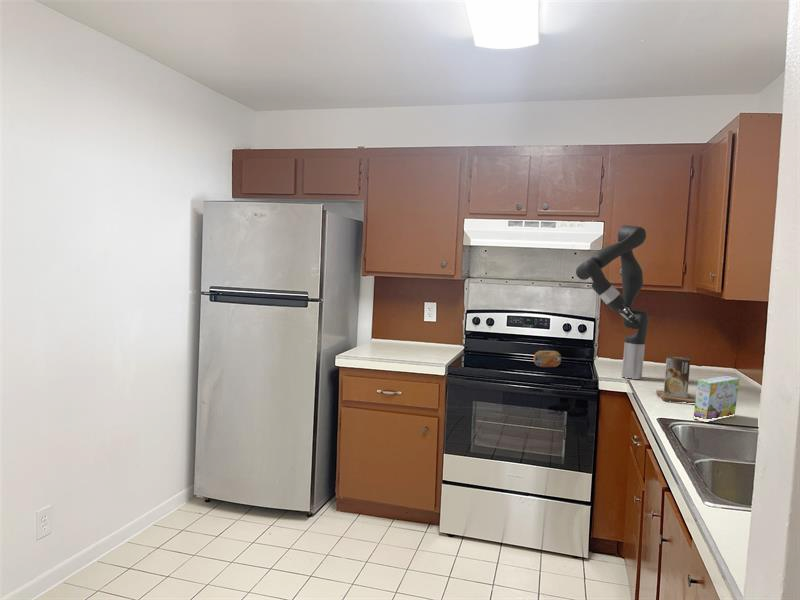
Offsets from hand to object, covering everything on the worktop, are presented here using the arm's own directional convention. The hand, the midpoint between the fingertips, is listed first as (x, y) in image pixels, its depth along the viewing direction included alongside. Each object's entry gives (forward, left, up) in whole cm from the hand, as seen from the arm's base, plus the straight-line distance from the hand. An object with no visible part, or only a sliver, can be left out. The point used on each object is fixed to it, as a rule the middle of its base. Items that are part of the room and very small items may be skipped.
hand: (637, 326), depth 260 cm
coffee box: (+9, +16, -27) cm, 33 cm away
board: (+9, +16, -29) cm, 34 cm away
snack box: (+35, +24, -29) cm, 51 cm away
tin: (-40, -35, -29) cm, 61 cm away
